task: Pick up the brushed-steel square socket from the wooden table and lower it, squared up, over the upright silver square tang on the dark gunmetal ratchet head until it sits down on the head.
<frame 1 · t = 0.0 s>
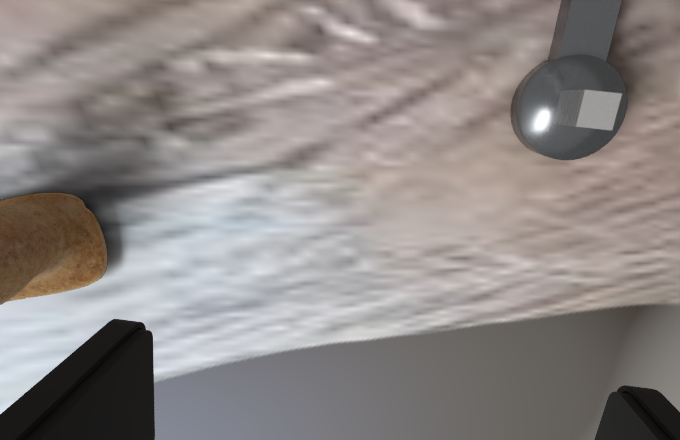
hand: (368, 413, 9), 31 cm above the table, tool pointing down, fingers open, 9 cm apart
tan boot: (38, 232, 43), on the table
ratchet: (559, 108, 36), on the table
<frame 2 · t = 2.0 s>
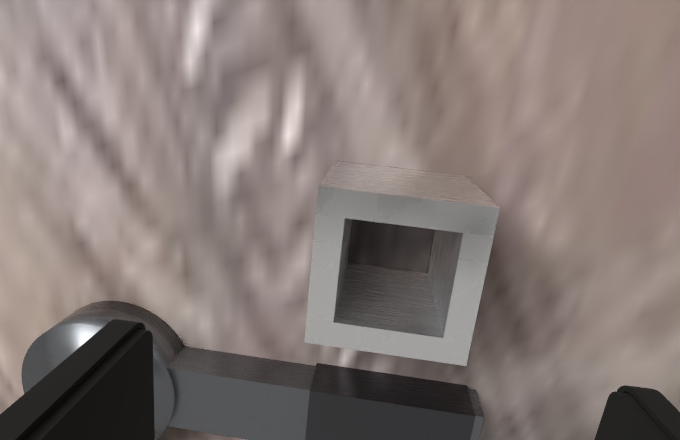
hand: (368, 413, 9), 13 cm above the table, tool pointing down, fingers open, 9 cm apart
ratchet: (123, 365, 25), on the table
socket: (392, 229, 21), on the table
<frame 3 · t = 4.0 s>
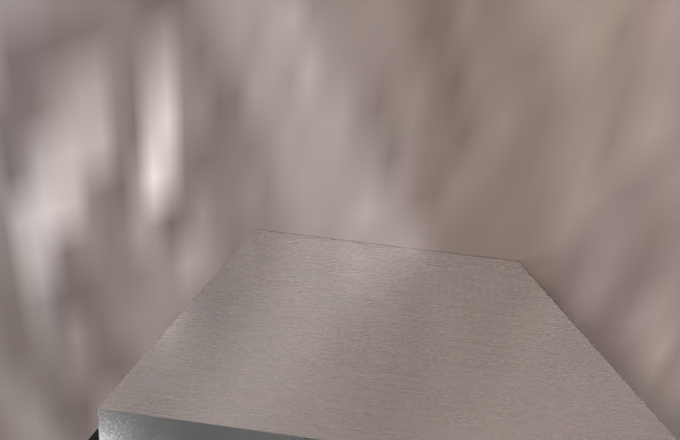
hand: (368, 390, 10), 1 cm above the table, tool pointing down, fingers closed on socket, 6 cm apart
socket: (369, 359, 11), on the table, touching gripper
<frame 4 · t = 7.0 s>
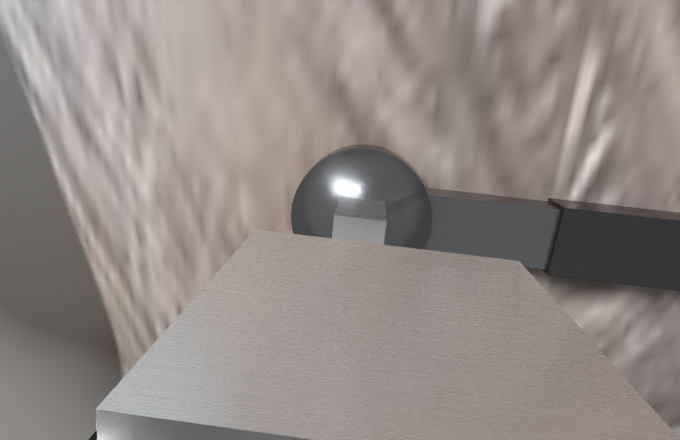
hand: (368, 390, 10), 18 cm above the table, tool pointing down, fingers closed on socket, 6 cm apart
ratchet: (362, 209, 27), on the table
socket: (369, 359, 11), point 17 cm above the table, touching gripper
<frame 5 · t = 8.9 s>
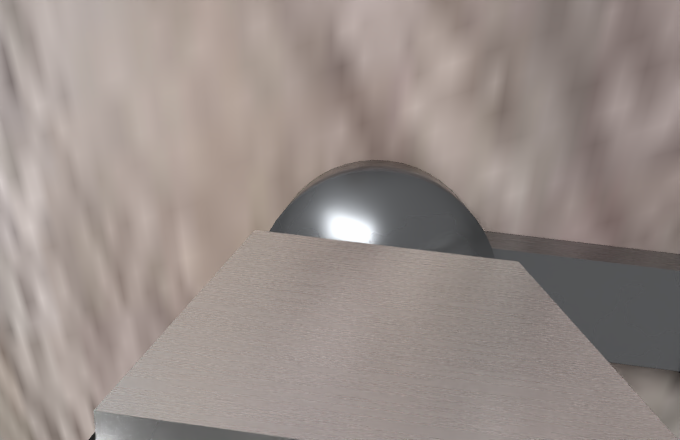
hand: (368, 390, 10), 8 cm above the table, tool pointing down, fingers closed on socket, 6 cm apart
ratchet: (374, 263, 17), on the table
socket: (369, 360, 11), point 6 cm above the table, touching gripper
when the fingers open (5 cm above the table, at t = 10.3 s): socket stays where it is, resting on ratchet.
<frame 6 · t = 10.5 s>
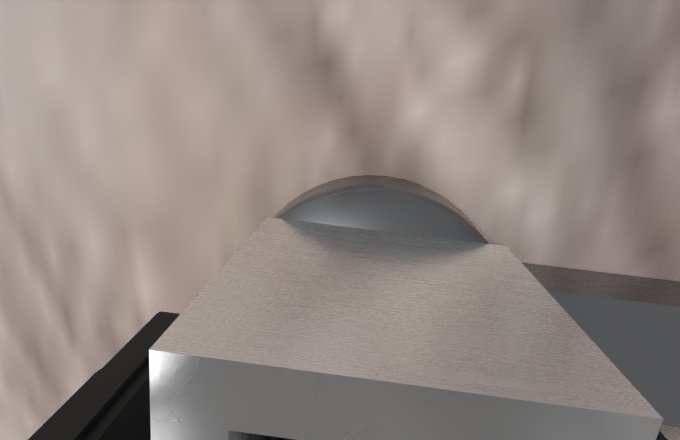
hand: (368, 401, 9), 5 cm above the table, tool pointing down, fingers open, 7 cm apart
ratchet: (369, 297, 14), on the table
socket: (370, 337, 12), point 2 cm above the table, touching ratchet
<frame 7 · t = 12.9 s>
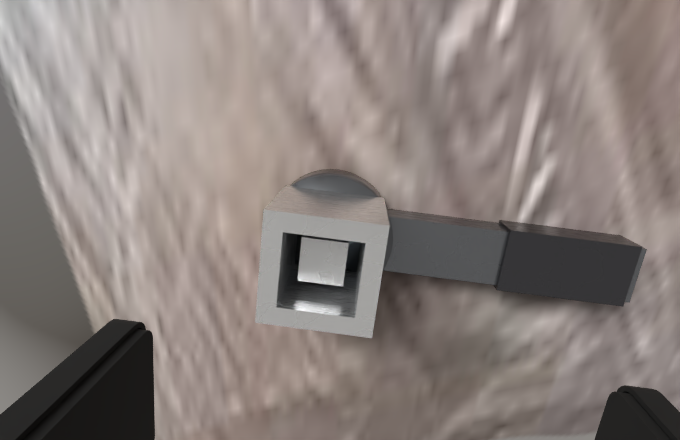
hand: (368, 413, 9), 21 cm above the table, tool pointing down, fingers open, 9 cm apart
ratchet: (331, 227, 29), on the table
socket: (329, 238, 27), point 2 cm above the table, touching ratchet
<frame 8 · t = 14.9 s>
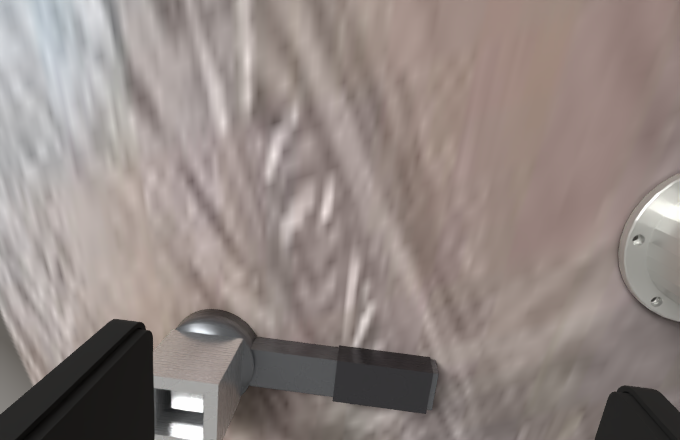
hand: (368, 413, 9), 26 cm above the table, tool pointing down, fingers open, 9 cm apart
ratchet: (216, 349, 39), on the table
socket: (206, 365, 37), point 2 cm above the table, touching ratchet
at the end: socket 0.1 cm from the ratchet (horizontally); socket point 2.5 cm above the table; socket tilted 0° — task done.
